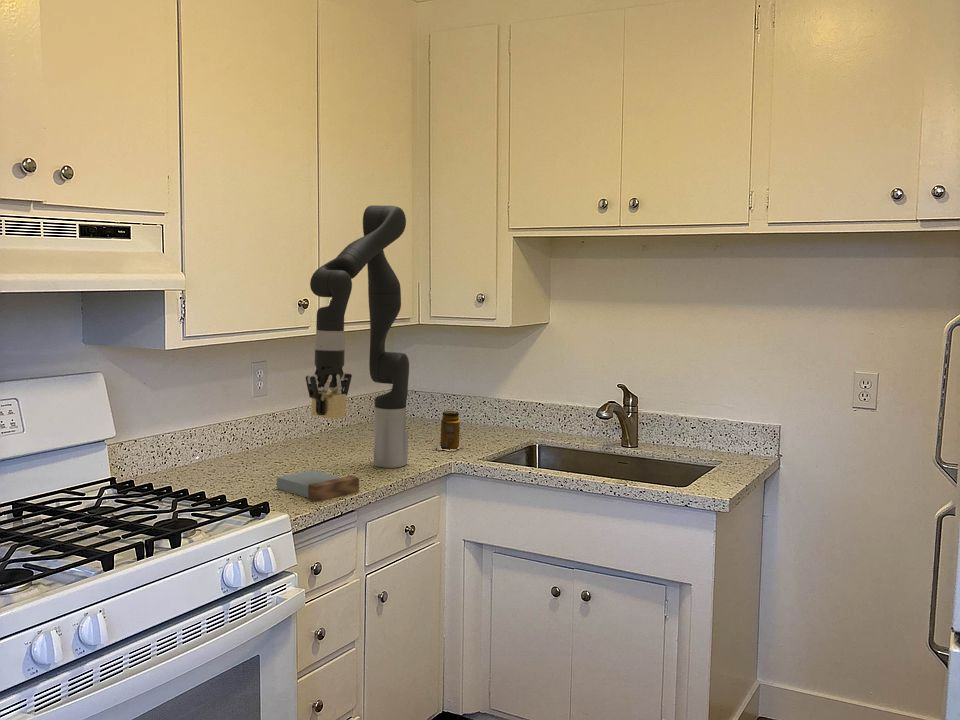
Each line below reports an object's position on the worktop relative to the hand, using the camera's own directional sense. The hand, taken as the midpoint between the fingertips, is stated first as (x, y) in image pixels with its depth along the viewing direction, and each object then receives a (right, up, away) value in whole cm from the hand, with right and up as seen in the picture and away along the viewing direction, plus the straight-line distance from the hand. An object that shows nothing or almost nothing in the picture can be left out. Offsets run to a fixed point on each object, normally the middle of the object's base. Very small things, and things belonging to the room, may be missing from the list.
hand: (328, 413), depth 231 cm
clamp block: (0, -1, 0) cm, 1 cm away
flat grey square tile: (-4, -20, +1) cm, 20 cm away
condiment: (+29, -15, +58) cm, 66 cm away
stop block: (+2, -21, -5) cm, 21 cm away
